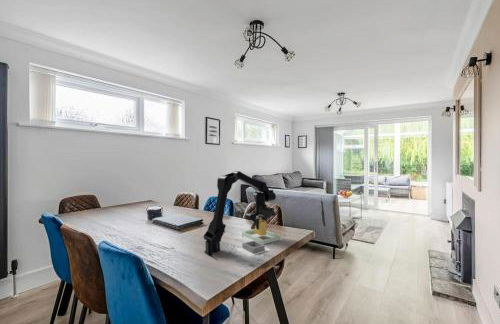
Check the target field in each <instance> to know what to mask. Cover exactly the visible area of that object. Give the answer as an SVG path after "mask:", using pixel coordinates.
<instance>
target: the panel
mask: <svg viewBox="0 0 500 324" xmlns="http://www.w3.org/2000/svg"><path fill="white" fill-rule="evenodd" d="M236 250H237V251H239V252H241V253H243V254H244V255H246V256H248V257H252V256H255V255H257V254H262V253H264V252H267V251H271V250H272V249H270V248H268V247H266V244H261V243H258V242H256V241H254V240H250V241H246V242H243V243H242V246H241V247H238V248H236Z"/></svg>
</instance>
